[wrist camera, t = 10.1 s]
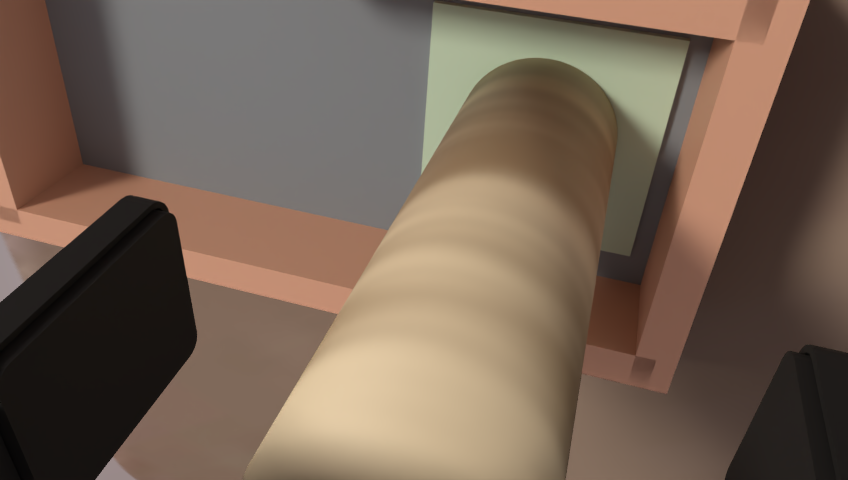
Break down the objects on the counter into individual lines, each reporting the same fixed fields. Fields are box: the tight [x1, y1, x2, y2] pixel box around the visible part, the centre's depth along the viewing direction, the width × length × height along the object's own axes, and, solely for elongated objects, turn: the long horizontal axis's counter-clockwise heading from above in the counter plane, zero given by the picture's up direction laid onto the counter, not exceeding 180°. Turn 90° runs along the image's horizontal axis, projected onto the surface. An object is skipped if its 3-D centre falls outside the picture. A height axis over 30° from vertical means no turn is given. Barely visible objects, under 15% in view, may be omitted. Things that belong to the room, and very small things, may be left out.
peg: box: [243, 58, 618, 480], centre depth 14 cm, size 4×4×12 cm
